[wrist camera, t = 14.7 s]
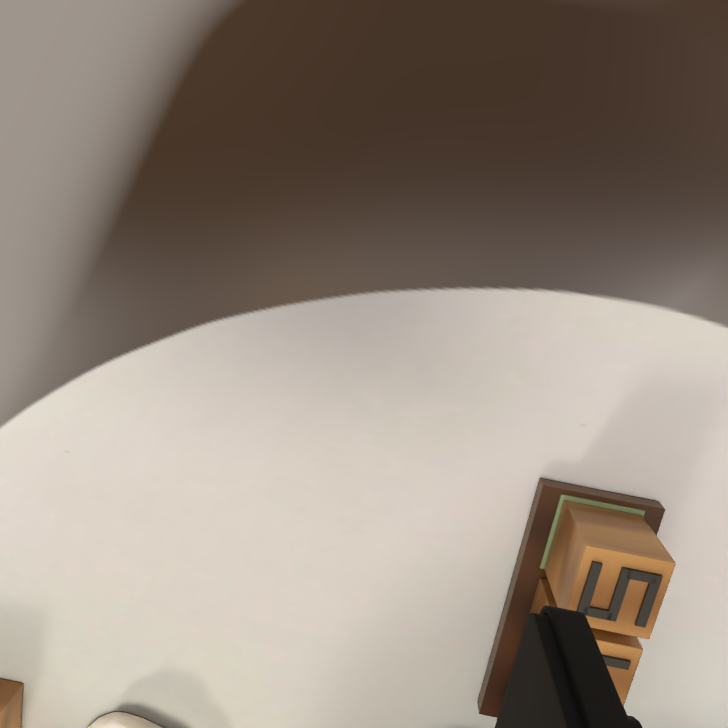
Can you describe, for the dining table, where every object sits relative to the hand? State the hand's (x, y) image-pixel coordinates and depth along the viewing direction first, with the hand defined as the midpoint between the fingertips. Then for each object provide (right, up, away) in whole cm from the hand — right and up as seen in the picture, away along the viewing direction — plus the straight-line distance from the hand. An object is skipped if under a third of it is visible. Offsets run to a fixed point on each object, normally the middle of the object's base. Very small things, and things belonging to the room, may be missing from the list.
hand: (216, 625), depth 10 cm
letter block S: (+15, -6, +28) cm, 33 cm away
